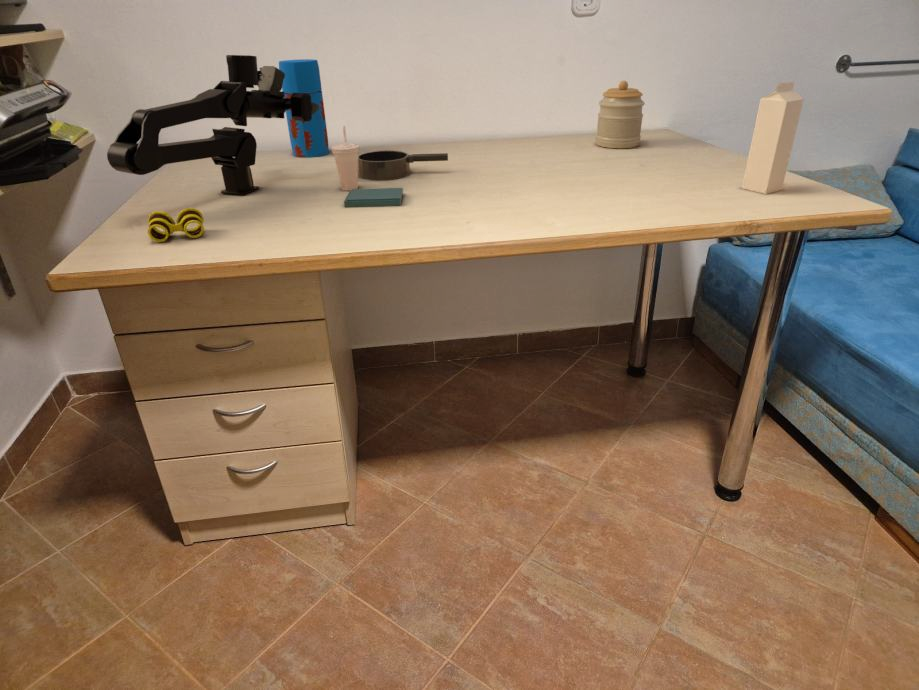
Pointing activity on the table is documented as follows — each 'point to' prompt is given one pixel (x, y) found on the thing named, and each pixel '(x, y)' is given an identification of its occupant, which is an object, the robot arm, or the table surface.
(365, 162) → the pan
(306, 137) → the thermos
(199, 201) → the table surface
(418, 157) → the pan handle
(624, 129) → the jar
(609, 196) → the table surface
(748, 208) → the table surface
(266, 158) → the table surface
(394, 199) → the teal flat block
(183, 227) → the opera glasses
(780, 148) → the milk
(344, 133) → the smoothie
